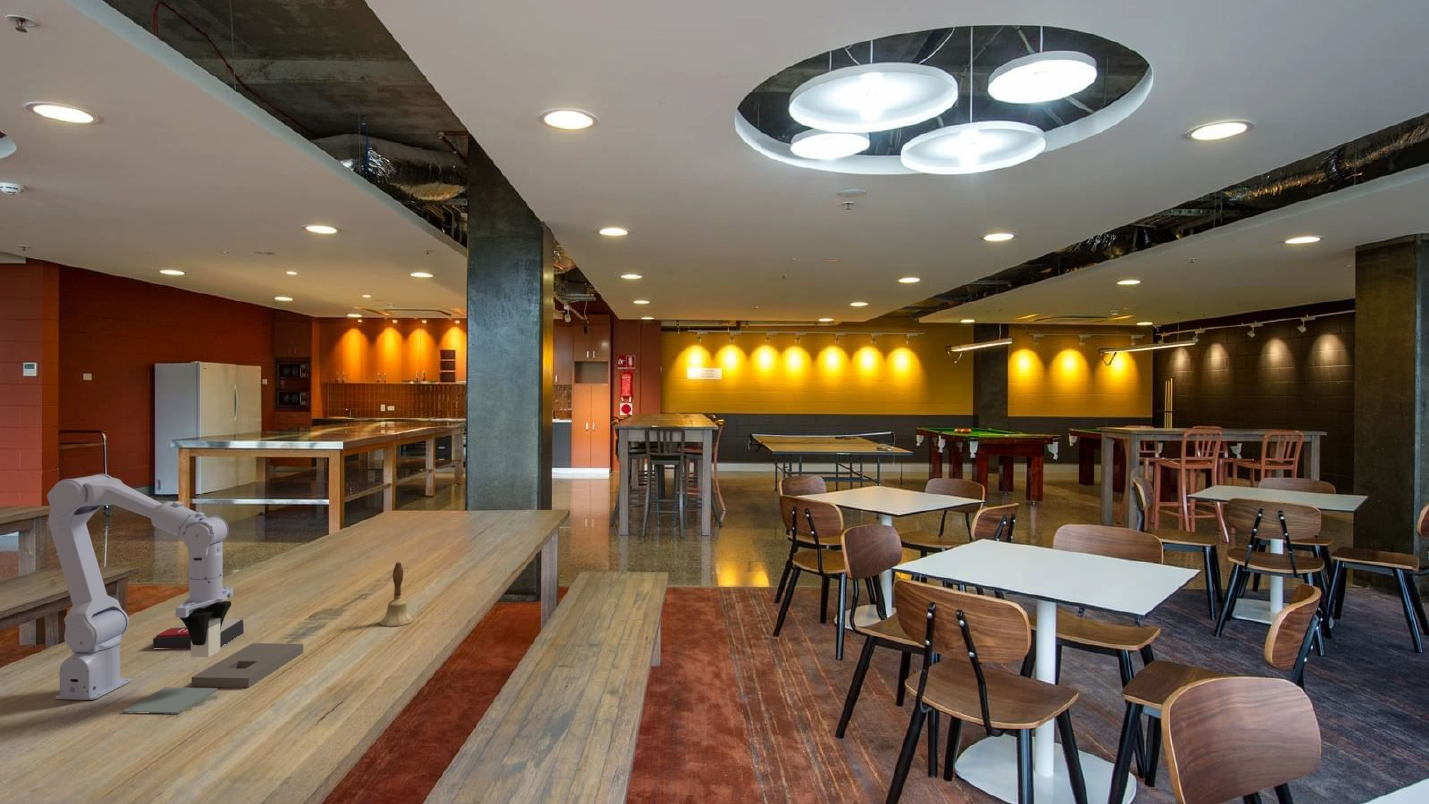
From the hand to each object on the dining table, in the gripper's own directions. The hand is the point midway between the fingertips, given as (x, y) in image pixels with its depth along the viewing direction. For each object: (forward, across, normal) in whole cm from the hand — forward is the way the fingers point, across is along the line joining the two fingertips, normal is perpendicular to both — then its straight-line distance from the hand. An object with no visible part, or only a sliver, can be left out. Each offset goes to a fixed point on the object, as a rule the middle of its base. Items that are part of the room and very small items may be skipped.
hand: (205, 641), depth 151 cm
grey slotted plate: (+10, +10, -3) cm, 15 cm away
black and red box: (+10, +27, +20) cm, 35 cm away
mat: (+10, -6, +2) cm, 12 cm away
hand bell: (+10, +43, -21) cm, 49 cm away
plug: (+3, 0, 0) cm, 3 cm away
